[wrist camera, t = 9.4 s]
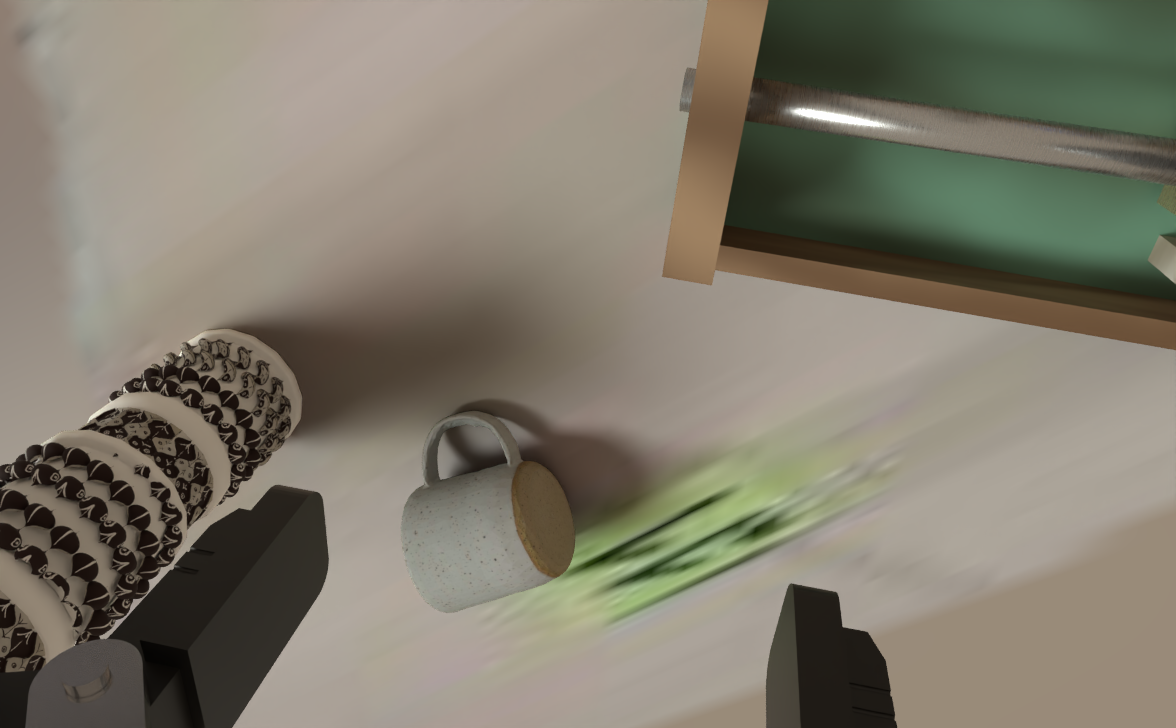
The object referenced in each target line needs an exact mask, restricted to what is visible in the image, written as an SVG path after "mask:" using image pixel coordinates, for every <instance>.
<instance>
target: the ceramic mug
mask: <svg viewBox="0 0 1176 728" xmlns="http://www.w3.org/2000/svg"><path fill="white" fill-rule="evenodd" d="M466 424H470V425H473V426H475V427H478V426H480V425H481V426H483V427H487V428H489V429H490V430H491V431H492V432H493V434H494V435H495V436H496V437H497V438H498V440H499V442H500V444H501V446H502V448H503V450H504V454H505V456H506V458H507V463H505V464H500V465H497V466H494V467H491V468H486V469H482V470H481V471H477V472H473V473H468V474H464V475H459V476H455V477H451V478H447V479H442V480H440V478H439V473H438V464H437V454H438V445H439V442H440V438H441V437H442V435H443V433H444V432H445V431H446V430H448V429H449V428H452V427H456V426H460V425H466ZM422 470H423V479H424V485H423V486H421V487H419V488H418V489H416V490H415V491H414V492H413V493H412V494H411V495H410V497H409V498H408V500H407V502H406V505H405V507H404V511H403V516H402V523H401V540H402V549H403V554H404V558H405V562H406V566H407V569H408V573H409V575H410V577H411V579H412V582H413V584H414V585H415V587H416V589H417V591H418V592H419V594H420V595H421V596H422V598H423V599H424V600H425V601H426V602H427V603H428V604H429V605H430V606H432V607H433V608H434V609H436V610H438V611H441V612H445V613H453V612H457V611H460V610H463V609H466V608H469V607H472V606H476V605H479V604H482V603H486V602H489V601H493V600H496V599H499V598H502V597H505V596H508V595H511V594H514V593H517V592H521V591H525V590H528V589H532V588H535V587H538V586H540V585H543V584H545V583H547V582H549V581H551V580H553V579H555V578H557V577H559V576H560V575H561V574H563V573H564V572H565V571H566V570H567V568H568V567H569V565H570V563H571V560H572V557H573V553H574V547H575V531H574V524H573V518H572V514H571V510H570V506H569V504H568V501H567V499H566V496H565V493H564V491H563V489H562V487H561V486H560V484H559V482H558V481H557V479H556V478H555V477H554V475H553V474H552V473H551V472H550V471H549V470H548V469H547V468H545V467H544V466H542V465H541V464H539V463H536V462H532V461H523V460H522V459H521V456H520V453H519V449H518V445H517V443H516V441H515V439H514V438H513V436H512V435H511V433H510V431H509V430H508V428H507V427H506V426H505V425H504V424H503V423H502V422H501V421H500V420H499V419H497V418H496V417H494V416H492V415H490V414H487V413H484V412H479V411H468V412H463V413H459V414H455V415H452V416H448V417H446V418H444V419H442V420H441V421H439V422H438V423H437V424H436V425H435V426H434V427H433V428H432V430H431V431H430V433H429V435H428V437H427V439H426V442H425V445H424V449H423V457H422Z"/></svg>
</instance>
